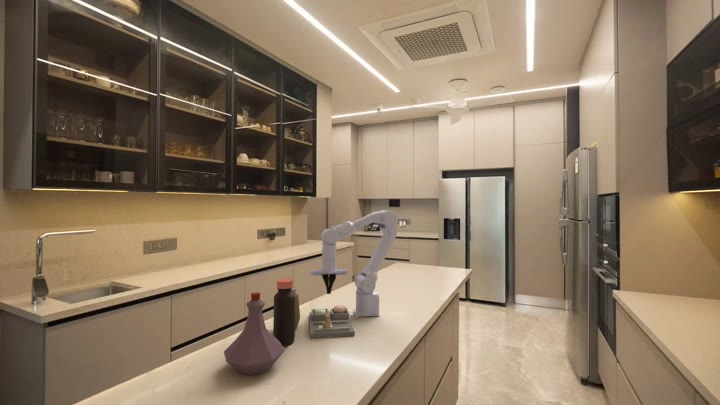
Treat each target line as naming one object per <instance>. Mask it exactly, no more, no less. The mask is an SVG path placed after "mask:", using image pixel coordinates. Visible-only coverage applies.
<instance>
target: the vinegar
mask: <svg viewBox="0 0 720 405" xmlns="http://www.w3.org/2000/svg"><path fill="white" fill-rule="evenodd" d="M293 284H294V283H293V279H292V278H291V279H288V278H281V279H280V278H279V279H278V280H277V281H276V290H277V292H276V293H275V294H274V295H273V320H272V321H273V324H272V325H273V329H272V330H273V331H272V332H273V334H272V335H273V336H274V337H275V338H276V339H277V340H278V341H279V342H280V343H281V344H282V346H283V347H287V346H291V345H293V344H294V343H295V341H296V340H295V339H296V338H295V337H296V329H295V294H294V293H293V292H292V291H291V289H292V287H294V285H293Z"/></svg>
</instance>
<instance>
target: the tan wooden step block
mask: <svg viewBox="0 0 720 405" xmlns="http://www.w3.org/2000/svg"><path fill="white" fill-rule="evenodd" d="M323 328H332V323H331V322H330V314H329V312H326V313H325V322H323Z"/></svg>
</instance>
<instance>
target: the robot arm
mask: <svg viewBox="0 0 720 405" xmlns="http://www.w3.org/2000/svg"><path fill="white" fill-rule="evenodd" d="M398 222H399V219H398V217H397V214H396V212H394V211H393V210H384V209H380V210H378V211H374V212H372V213H369V214H367V215H365V216H363V217H361V218H358V219H356V220H354V221H349V220H347V221H346V220H342V221H341V223H340V224H337V225H331V227H330V228H326V229H324V230H323V231H322V233H321V235H320V239H321V241H322V248H321V269H311V270H310V276H311V277H314V276H321V277H322V280H323V282H324V284H325V288H326V294H327V295H331V293H332V288H333V286H334V283H335V280H336V279H337V276H343V275H344V276H347V275H348V269H346V268H345V269H344V268H337V242H338V241H339V240H343V239H345V238H347V237H350V236H351V235H354V233H355V231H356V230H358V229H360V228H363V227H366V226H368V225H370V224H378V226H379V227H380V230H381V231H382V236H381V237H380V239H379V242H378V243H377V245H376V247H375V249H374V251H373V253H372V255H371V257H370V258H369V260H368V263H367V264H366V266H365V267H364V268H362V269H361V271H360V273H359V274H357V275H356V276H355V277H354V285H355V286H356V290H355V309H353V313H354V315H355V317H358V318H359V317H360V318H363V317H380V294H379V292H378V291H375V289H376V283H377V281H378V272H379V271H380V268H381V266H382V265H383V263H384V262H385V259H386V257H387V255H388V253H389V251H390V250H391V247H392V245H393V243H394V241H395V240H396V238H397V233H398V231H397V230H398V229H397V228H398Z"/></svg>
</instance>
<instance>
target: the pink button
mask: <svg viewBox="0 0 720 405" xmlns="http://www.w3.org/2000/svg"><path fill="white" fill-rule="evenodd" d="M333 308H334V313H335V314H340V313H345V308H346V306H345V305H335V306H333Z"/></svg>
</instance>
